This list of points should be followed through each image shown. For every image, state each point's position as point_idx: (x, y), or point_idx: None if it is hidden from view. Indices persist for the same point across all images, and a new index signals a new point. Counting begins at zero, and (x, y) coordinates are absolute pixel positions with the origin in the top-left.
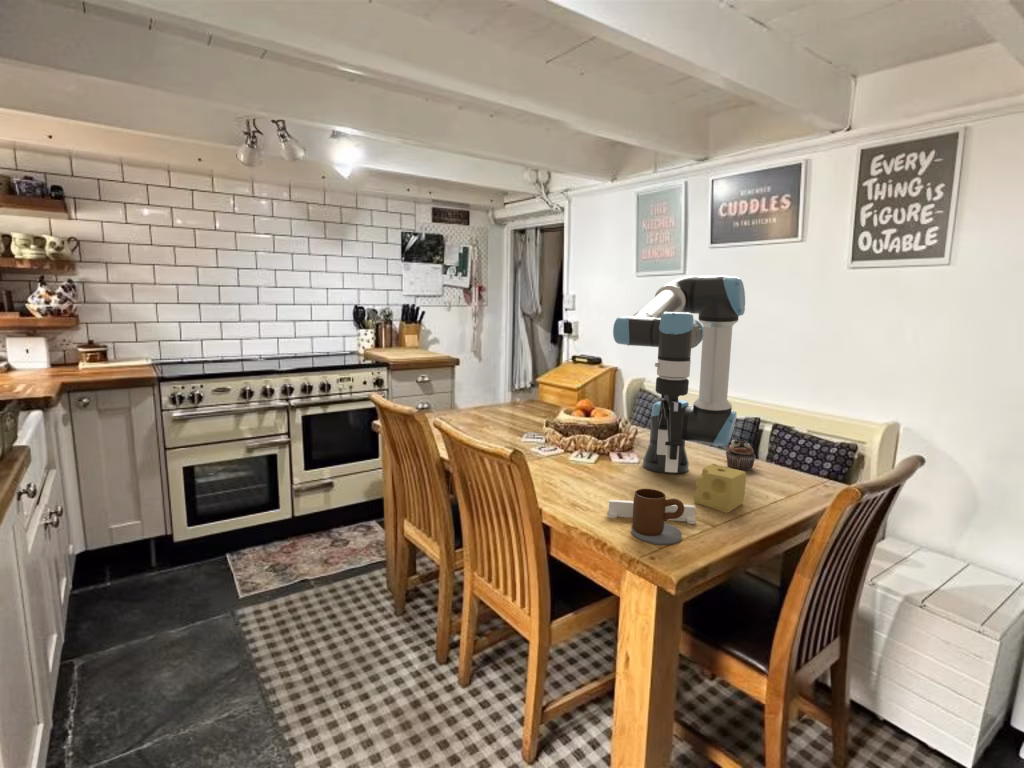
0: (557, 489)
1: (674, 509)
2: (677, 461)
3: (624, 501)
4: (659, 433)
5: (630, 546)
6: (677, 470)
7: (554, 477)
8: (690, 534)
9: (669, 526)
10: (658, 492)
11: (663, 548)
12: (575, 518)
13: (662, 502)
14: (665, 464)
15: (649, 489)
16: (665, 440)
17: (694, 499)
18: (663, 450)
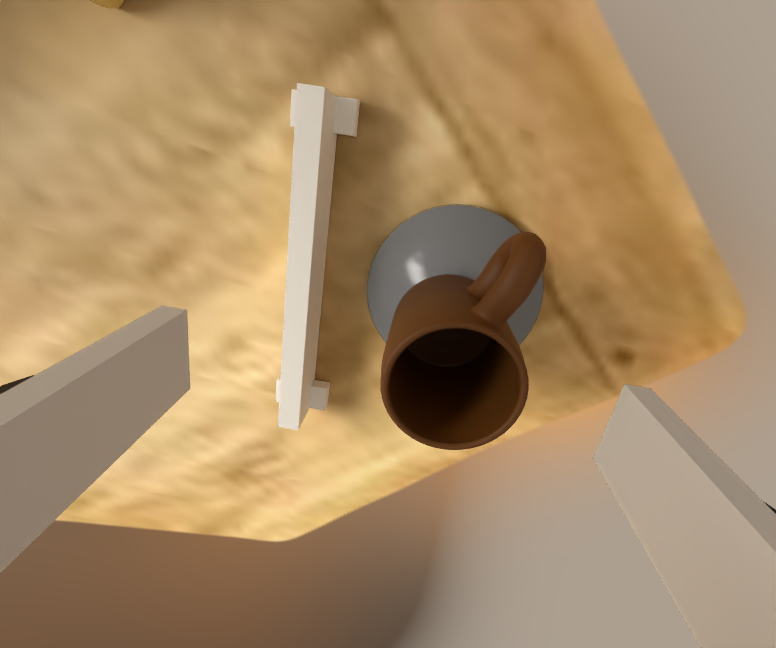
0: (121, 492)
1: (320, 188)
2: (710, 455)
3: (290, 380)
4: (33, 530)
5: (537, 395)
6: (660, 398)
7: None
8: (459, 162)
9: (415, 234)
10: (414, 336)
11: (563, 302)
12: (340, 489)
13: (515, 344)
14: (620, 498)
15: (389, 373)
16: (93, 407)
17: (108, 5)
18: (167, 363)
